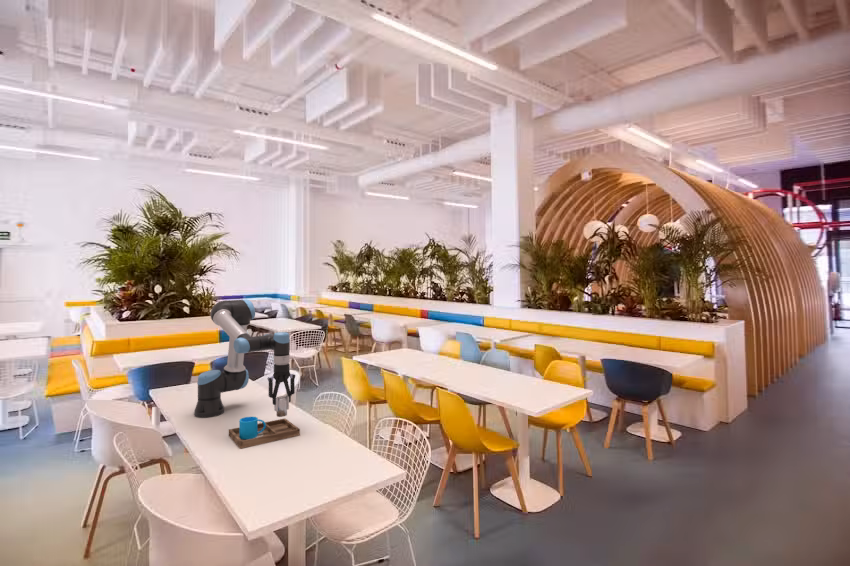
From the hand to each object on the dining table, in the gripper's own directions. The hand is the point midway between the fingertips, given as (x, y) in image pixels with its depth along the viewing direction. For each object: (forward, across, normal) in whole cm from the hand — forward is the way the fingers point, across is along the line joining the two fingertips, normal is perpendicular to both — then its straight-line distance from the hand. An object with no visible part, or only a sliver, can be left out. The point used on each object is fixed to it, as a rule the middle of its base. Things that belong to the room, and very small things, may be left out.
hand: (281, 409), depth 220 cm
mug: (+10, -14, 0) cm, 17 cm away
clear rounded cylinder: (+3, 0, 0) cm, 3 cm away
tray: (+11, -8, 0) cm, 14 cm away
